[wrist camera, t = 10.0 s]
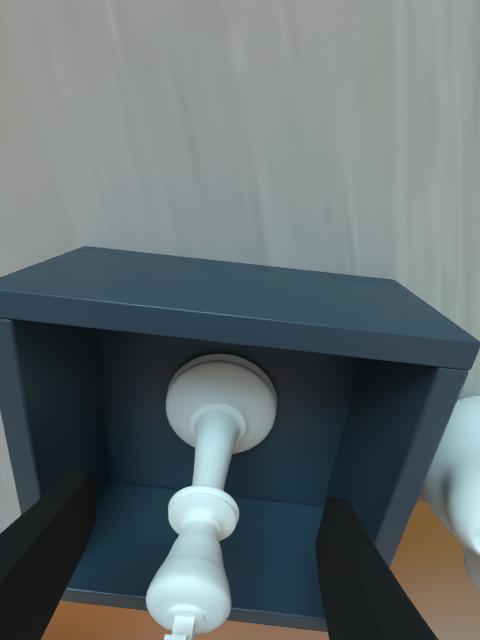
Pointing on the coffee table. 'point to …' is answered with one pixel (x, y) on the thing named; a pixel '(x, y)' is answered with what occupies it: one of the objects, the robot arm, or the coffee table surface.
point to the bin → (245, 467)
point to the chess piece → (207, 486)
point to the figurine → (459, 481)
